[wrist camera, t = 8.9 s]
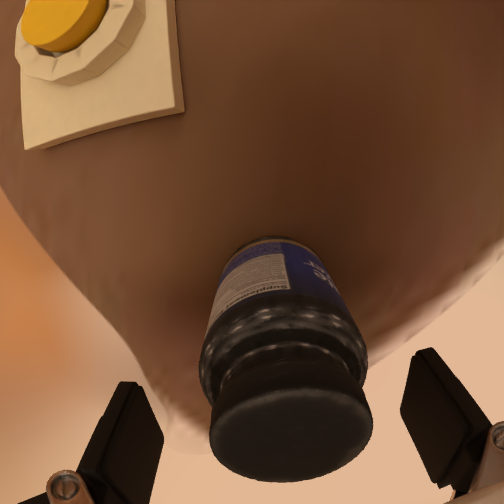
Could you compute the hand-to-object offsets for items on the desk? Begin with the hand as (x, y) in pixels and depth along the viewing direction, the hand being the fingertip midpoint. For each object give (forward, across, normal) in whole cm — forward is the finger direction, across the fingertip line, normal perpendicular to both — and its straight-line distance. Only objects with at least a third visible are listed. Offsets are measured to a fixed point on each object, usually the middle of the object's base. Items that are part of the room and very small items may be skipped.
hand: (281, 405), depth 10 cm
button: (+5, +8, -16) cm, 19 cm away
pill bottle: (+9, 0, 0) cm, 9 cm away
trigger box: (+9, +8, -16) cm, 20 cm away
